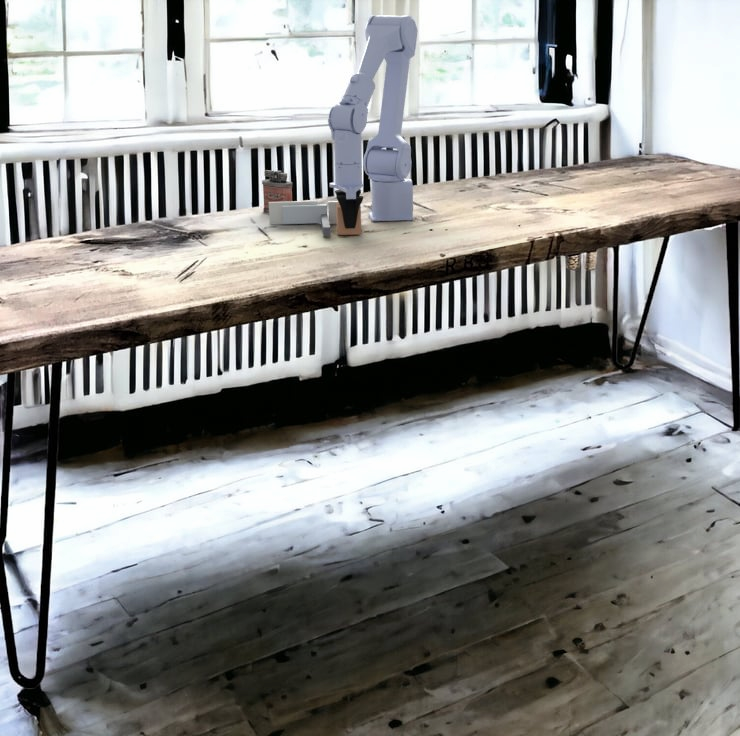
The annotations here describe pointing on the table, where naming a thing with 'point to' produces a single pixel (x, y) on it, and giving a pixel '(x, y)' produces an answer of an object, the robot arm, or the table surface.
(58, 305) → the table surface
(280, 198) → the lighter
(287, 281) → the table surface
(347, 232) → the block
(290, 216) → the sliding door
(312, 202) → the white thin slab
